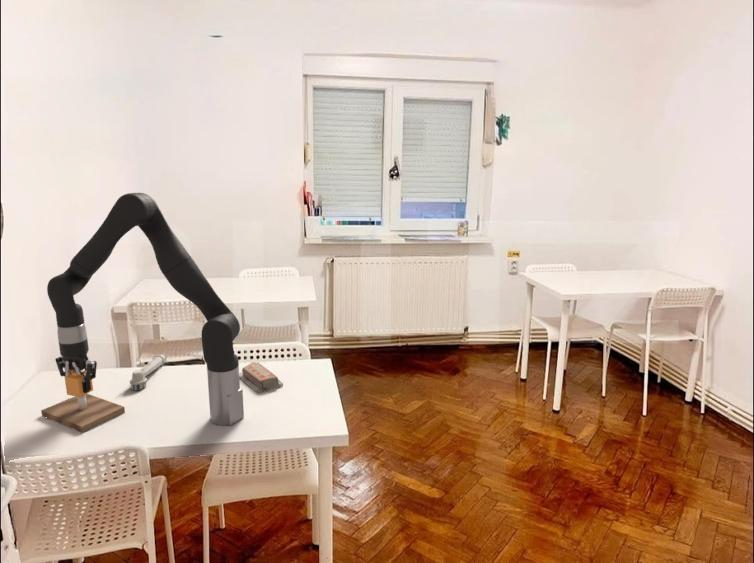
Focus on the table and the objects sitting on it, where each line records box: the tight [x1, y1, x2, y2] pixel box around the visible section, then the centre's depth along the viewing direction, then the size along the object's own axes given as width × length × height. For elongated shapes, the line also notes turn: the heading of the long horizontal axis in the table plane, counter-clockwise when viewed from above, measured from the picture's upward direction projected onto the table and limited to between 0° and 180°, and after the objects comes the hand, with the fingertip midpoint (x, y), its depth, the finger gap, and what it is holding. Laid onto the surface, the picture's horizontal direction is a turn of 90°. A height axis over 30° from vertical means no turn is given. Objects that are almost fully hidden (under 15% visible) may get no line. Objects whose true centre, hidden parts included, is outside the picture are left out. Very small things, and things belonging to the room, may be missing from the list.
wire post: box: [77, 395, 87, 410], centre depth 163 cm, size 2×2×7 cm
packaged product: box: [239, 361, 284, 394], centre depth 189 cm, size 18×5×10 cm
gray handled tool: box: [129, 353, 167, 391], centre depth 192 cm, size 5×7×25 cm
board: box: [41, 393, 126, 433], centre depth 164 cm, size 20×14×2 cm
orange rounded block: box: [64, 369, 94, 397], centre depth 161 cm, size 5×5×7 cm
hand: (79, 390), depth 162 cm, fingers closed on orange rounded block, 5 cm apart
